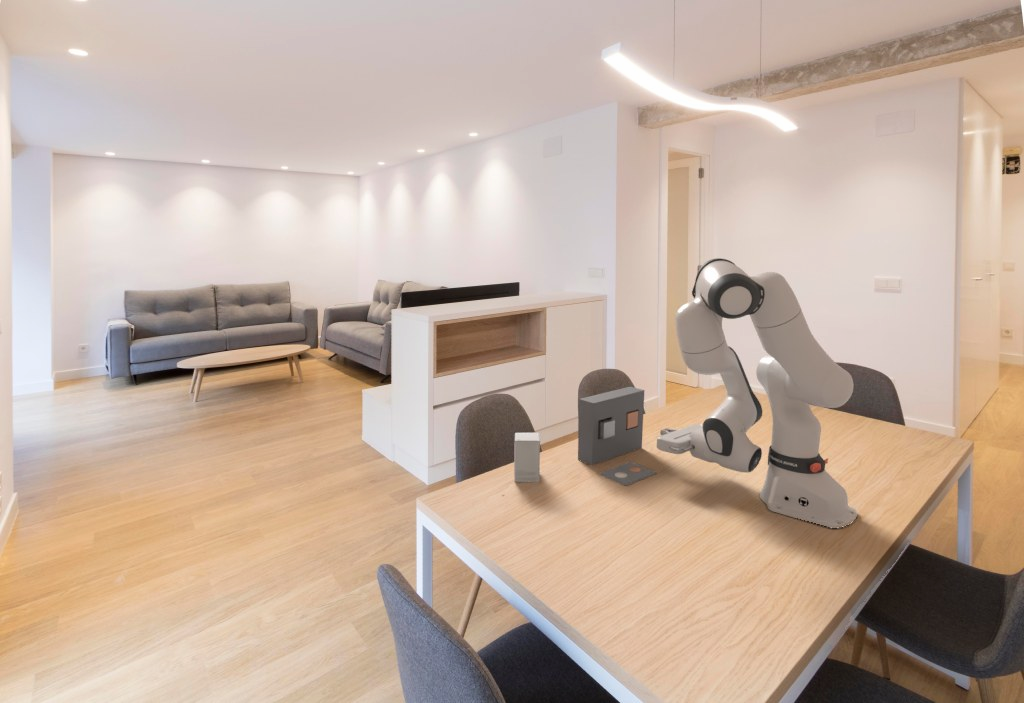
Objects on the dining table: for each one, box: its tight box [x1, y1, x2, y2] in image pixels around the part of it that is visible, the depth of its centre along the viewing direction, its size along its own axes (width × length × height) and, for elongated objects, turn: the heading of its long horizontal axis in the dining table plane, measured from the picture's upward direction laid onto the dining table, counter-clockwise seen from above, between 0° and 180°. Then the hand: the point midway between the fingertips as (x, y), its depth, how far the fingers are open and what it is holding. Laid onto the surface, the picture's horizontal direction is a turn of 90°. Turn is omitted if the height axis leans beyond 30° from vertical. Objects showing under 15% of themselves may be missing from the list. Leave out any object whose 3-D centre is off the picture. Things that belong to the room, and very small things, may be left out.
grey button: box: [598, 418, 615, 439], centre depth 170 cm, size 3×5×5 cm, turn 128°
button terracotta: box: [626, 410, 638, 429], centre depth 179 cm, size 3×5×5 cm, turn 128°
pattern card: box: [599, 461, 658, 487], centre depth 163 cm, size 10×14×1 cm
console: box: [577, 386, 645, 466], centre depth 177 cm, size 6×24×20 cm, turn 128°
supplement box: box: [513, 432, 541, 483], centre depth 160 cm, size 7×7×13 cm
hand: (663, 431), depth 168 cm, fingers closed
